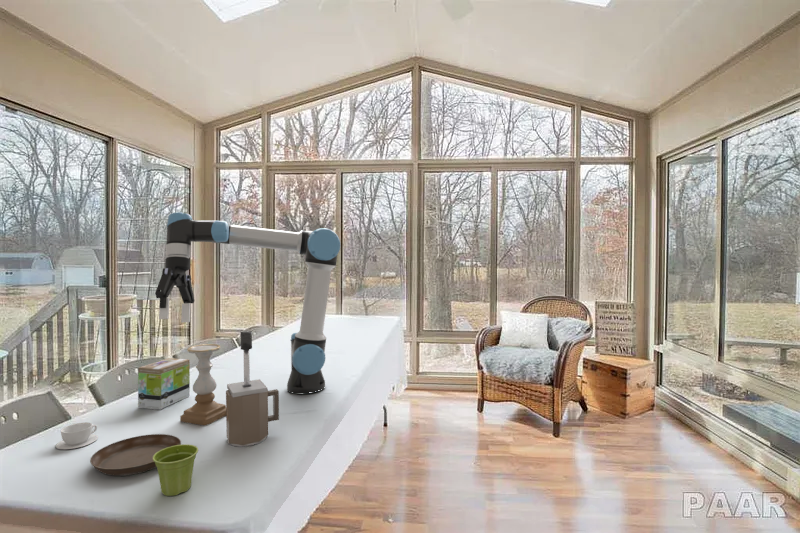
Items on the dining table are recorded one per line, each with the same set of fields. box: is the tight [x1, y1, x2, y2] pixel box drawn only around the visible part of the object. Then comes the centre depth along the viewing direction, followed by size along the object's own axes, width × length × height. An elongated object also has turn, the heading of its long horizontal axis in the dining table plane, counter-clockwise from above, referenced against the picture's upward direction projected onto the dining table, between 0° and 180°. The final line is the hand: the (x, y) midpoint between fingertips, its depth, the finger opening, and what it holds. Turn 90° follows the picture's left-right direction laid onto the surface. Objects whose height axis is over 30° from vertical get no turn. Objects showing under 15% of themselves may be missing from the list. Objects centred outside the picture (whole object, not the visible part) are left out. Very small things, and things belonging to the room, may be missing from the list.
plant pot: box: [153, 443, 199, 497], centre depth 101 cm, size 9×9×9 cm
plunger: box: [239, 330, 253, 396], centre depth 127 cm, size 9×9×22 cm
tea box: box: [137, 357, 191, 411], centre depth 159 cm, size 15×10×15 cm, turn 168°
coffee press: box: [225, 378, 280, 447], centre depth 129 cm, size 15×11×16 cm
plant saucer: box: [89, 433, 182, 477], centre depth 115 cm, size 21×21×3 cm
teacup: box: [55, 422, 99, 450], centre depth 126 cm, size 10×10×5 cm
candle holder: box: [179, 343, 226, 426], centre depth 144 cm, size 11×11×24 cm
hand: (175, 320), depth 141 cm, fingers open, 13 cm apart
